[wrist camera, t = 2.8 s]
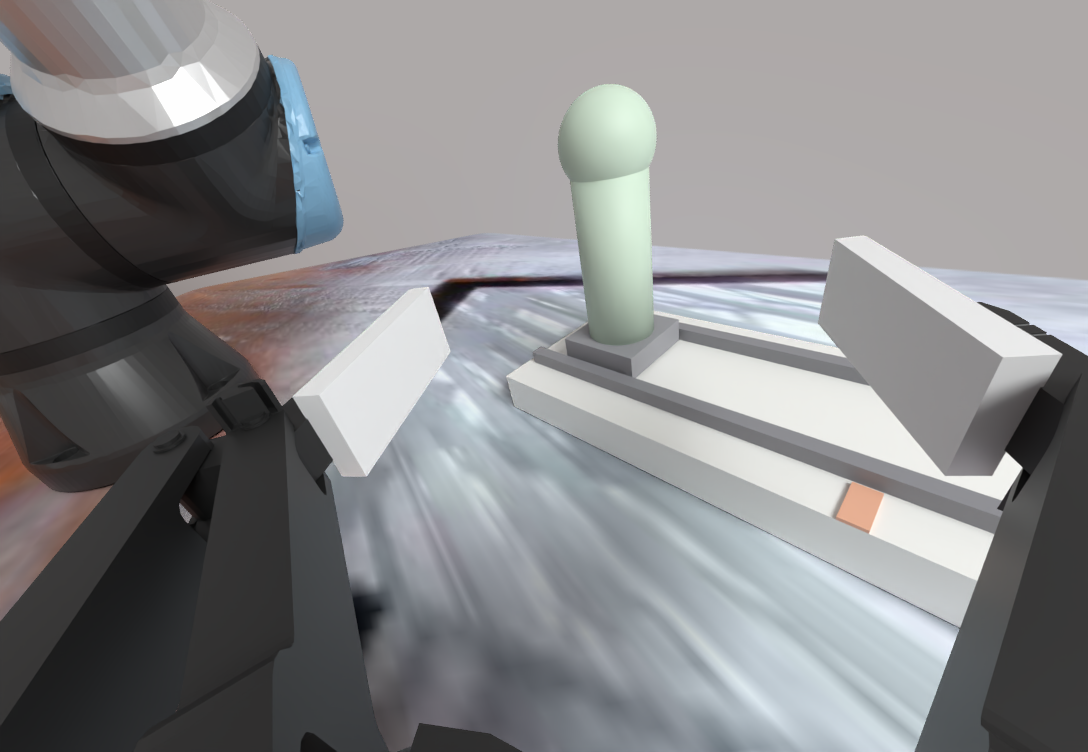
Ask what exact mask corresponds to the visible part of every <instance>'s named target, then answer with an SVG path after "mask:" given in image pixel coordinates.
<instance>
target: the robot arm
mask: <svg viewBox="0 0 1088 752" xmlns="http://www.w3.org/2000/svg"><path fill="white" fill-rule="evenodd" d="M0 41H1V42H2V43H3V44H4V45H5V46H6V47H7V48H8V49H9V50H10V51H11V65H10V66H11V67H10V68H11V69H10V76H7V75H4V74H0V416H1V418H2V420H3V422H4V424H5V426H6V429H7V431H8V433H9V435H10V437H11V439H12V441H13V444H14V446H15V448H16V450H17V452H18V454H19V457H20V459H21V461H22V463H23V464H24V466H25V467H26V468H27V469H28V470H29V471H30V472H31V473H32V474H34V475H35V476H36V477H37V478H39V479H40V480H41V481H42V482H43V483H45V484H46V485H47V486H48V487H49V488H51V489H53V490H56V491H60V492H76V491H84V490H90V489H95V488H99V487H103V486H106V485H110V484H113V483H115V484H114V485H113V486H112V488H111V489H110V490H109V491H108V492H107V494H106V495H105V496H104V497H103V498H102V500H101V501H100V502H99V503H98V504H97V506H96V507H95V508H94V509H93V510H92V512H91V513H90V514H89V515H88V516H87V518H86V519H85V520H84V521H83V523H82V524H81V525H80V526H79V527H78V529H77V530H76V531H75V532H74V533H73V535H72V536H71V537H70V538H69V539H68V541H67V542H66V543H65V544H64V545H63V547H62V548H61V549H60V550H59V552H58V553H57V554H56V555H55V556H54V558H53V559H52V560H51V561H50V562H49V564H48V565H47V566H46V567H45V568H44V570H43V571H42V572H41V573H40V574H39V576H38V577H37V578H36V579H35V580H34V582H33V583H32V584H31V585H30V587H29V588H28V589H27V590H26V591H25V593H24V594H23V595H22V596H21V597H20V599H19V600H18V601H17V602H16V603H15V605H14V606H13V607H12V608H11V609H10V611H9V612H8V613H7V614H6V616H5V617H4V618H3V619H2V620H1V622H0V752H389V751H388V748H387V746H386V744H385V742H384V740H383V738H382V736H381V734H380V732H379V730H378V727H377V724H376V721H375V717H374V713H373V708H372V702H371V697H370V692H369V686H368V681H367V675H366V670H365V665H364V659H363V654H362V648H361V643H360V637H359V632H358V627H357V621H356V616H355V610H354V605H353V600H352V594H351V589H350V583H349V578H348V573H347V567H346V562H345V556H344V551H343V545H342V540H341V535H340V529H339V524H338V518H337V513H336V508H335V502H334V497H333V491H332V486H331V481H330V479H329V478H328V476H327V475H326V473H325V472H324V471H325V470H326V468H327V467H328V466H329V465H330V463H331V462H332V461H333V463H334V464H335V466H336V467H337V469H338V471H339V472H340V474H341V475H342V477H367V475H368V474H369V472H370V471H371V469H372V468H373V466H374V465H375V463H376V462H377V460H378V459H379V458H380V456H381V455H382V453H383V452H384V450H385V449H386V447H387V446H388V444H389V443H390V441H391V440H392V438H393V437H394V435H395V434H396V432H397V431H398V429H399V428H400V426H401V425H402V423H403V422H404V420H405V419H406V417H407V416H408V414H409V413H410V411H411V410H412V408H413V407H414V405H415V404H416V402H417V401H418V399H419V398H420V397H421V395H422V394H423V392H424V391H425V389H426V388H427V386H428V385H429V383H430V382H431V380H432V379H433V377H434V376H435V374H436V373H437V371H438V370H439V368H440V367H441V365H442V364H443V362H444V361H445V359H446V358H447V356H448V355H449V353H450V352H451V351H450V348H449V345H448V342H447V339H446V337H445V334H444V331H443V328H442V325H441V322H440V319H439V316H438V313H437V310H436V308H435V305H434V302H433V299H432V296H431V293H430V290H429V287H424V288H415V289H409V290H408V291H407V292H406V293H405V294H404V295H403V296H402V297H401V298H399V299H398V300H397V301H396V302H395V303H394V304H393V305H392V306H391V307H390V308H389V309H387V310H386V311H385V312H384V313H383V314H382V315H381V316H380V317H379V318H378V319H377V320H375V321H374V322H373V323H372V324H371V325H370V326H369V327H368V328H367V329H366V330H364V331H363V332H362V333H361V334H360V335H359V336H358V337H357V338H356V339H355V340H354V341H352V342H351V343H350V344H349V345H348V346H347V347H346V348H345V349H344V350H343V351H342V352H340V353H339V354H338V355H337V356H336V357H335V358H334V359H333V360H332V361H331V362H330V363H328V364H327V365H326V366H325V367H324V368H323V369H322V370H321V371H320V372H319V373H318V374H316V375H315V376H314V377H313V378H312V379H311V380H310V381H309V382H308V383H307V384H306V385H304V386H303V387H302V388H301V389H300V390H299V391H298V392H297V393H296V394H295V395H293V396H292V398H291V399H290V400H289V401H288V402H287V403H285V404H284V405H283V406H281V404H280V403H279V401H278V400H277V398H276V397H275V395H274V394H273V392H272V391H271V389H270V388H269V386H268V385H267V383H266V381H265V380H262V379H260V378H259V377H258V375H257V374H256V372H255V371H254V369H253V368H252V366H251V365H250V363H249V362H248V361H247V360H246V358H245V357H243V356H242V355H241V354H240V353H238V352H237V351H236V350H234V349H233V348H232V347H231V346H229V345H228V344H227V343H225V342H224V341H223V340H221V339H220V338H219V337H218V336H216V335H215V334H214V333H212V332H211V331H210V330H208V329H207V328H206V327H205V326H203V325H202V324H201V323H199V322H198V321H197V320H195V319H194V318H193V317H192V316H190V315H189V314H188V313H187V312H186V311H185V310H184V309H183V307H182V306H181V305H180V303H179V302H178V301H177V299H176V298H175V296H174V295H173V294H172V292H171V291H170V289H169V288H168V287H167V285H166V284H169V283H173V282H178V281H181V280H185V279H190V278H194V277H198V276H202V275H206V274H210V273H214V272H218V271H222V270H227V269H231V268H235V267H239V266H243V265H248V264H252V263H256V262H260V261H264V260H268V259H272V258H277V257H281V256H284V255H289V254H297V253H300V252H301V251H302V250H303V249H305V248H309V247H312V246H315V245H318V244H321V243H324V242H327V241H330V240H332V239H334V238H335V237H336V236H337V235H338V234H339V233H340V232H341V230H342V227H343V215H342V211H341V208H340V205H339V201H338V199H337V195H336V192H335V188H334V185H333V182H332V179H331V175H330V172H329V169H328V166H327V163H326V160H325V156H324V153H323V150H322V147H321V144H320V140H319V137H318V134H317V131H316V128H315V124H314V121H313V117H312V114H311V111H310V108H309V105H308V102H307V98H306V95H305V92H304V89H303V86H302V83H301V80H300V77H299V74H298V71H297V68H296V66H295V64H294V63H293V62H292V61H291V60H289V59H286V58H278V57H276V56H273V55H269V56H268V57H267V58H265V59H264V57H263V55H262V53H261V51H260V49H259V47H258V46H257V43H256V41H255V39H254V37H253V36H252V34H251V33H250V31H249V30H248V28H247V27H246V26H245V25H244V23H243V22H242V21H241V20H240V19H239V18H238V17H236V16H235V15H234V14H232V13H231V12H229V11H228V10H226V9H224V8H222V7H221V6H219V5H217V4H215V3H213V2H211V1H209V0H0ZM818 324H819V325H820V326H821V327H822V329H823V330H824V331H825V332H826V333H827V335H828V336H829V337H830V338H831V339H832V341H833V342H834V343H835V344H836V346H837V347H838V348H839V349H840V350H841V352H842V353H843V354H844V355H845V356H846V358H847V359H848V360H849V361H850V362H851V364H852V365H853V366H854V367H855V368H856V370H857V371H858V372H859V373H860V374H861V376H862V377H863V378H864V379H865V380H866V382H867V383H868V384H869V385H870V386H871V388H872V389H873V390H874V391H875V392H876V394H877V395H878V396H879V397H880V398H881V400H882V401H883V402H884V403H885V404H886V406H887V407H888V408H889V409H890V410H891V412H892V413H893V414H894V415H895V417H896V418H897V419H898V420H899V421H900V423H901V424H902V425H903V426H904V427H905V429H906V430H907V431H908V432H909V433H910V435H911V436H912V437H913V438H914V439H915V441H916V442H917V443H918V444H919V445H920V447H921V448H922V449H923V450H924V451H925V453H926V454H927V455H928V456H929V457H930V459H931V460H932V461H933V462H934V463H935V465H936V466H937V467H938V468H939V469H940V471H941V472H942V473H943V474H944V475H945V476H992V475H993V474H994V472H995V470H996V468H997V467H998V465H999V463H1000V462H1001V460H1002V458H1003V456H1004V455H1005V453H1006V452H1007V453H1008V454H1009V455H1010V456H1011V457H1012V458H1013V459H1014V460H1015V461H1016V462H1017V463H1018V464H1019V465H1020V466H1021V467H1023V468H1022V469H1021V471H1020V473H1019V474H1018V476H1017V477H1016V479H1015V481H1014V482H1013V484H1012V485H1011V487H1010V489H1009V490H1008V492H1007V493H1006V495H1005V497H1004V498H1003V500H1002V501H1001V503H1000V505H999V506H998V508H997V509H998V510H1001V511H1003V512H1002V515H1001V518H1000V521H999V523H998V526H997V529H996V531H995V534H994V537H993V540H992V542H991V545H990V548H989V551H988V553H987V556H986V559H985V561H984V564H983V567H982V570H981V572H980V575H979V578H978V580H977V583H976V586H975V589H974V591H973V594H972V597H971V600H970V602H969V605H968V608H967V610H966V613H965V616H964V619H963V621H962V624H961V627H960V630H959V632H958V635H957V638H956V640H955V643H954V646H953V649H952V651H951V654H950V657H949V659H948V662H947V665H946V668H945V670H944V673H943V676H942V679H941V681H940V684H939V687H938V689H937V692H936V695H935V698H934V700H933V703H932V706H931V709H930V711H929V714H928V717H927V719H926V722H925V725H924V728H923V730H922V733H921V736H920V739H919V741H918V744H917V747H916V749H915V752H1088V356H1087V355H1085V354H1084V353H1082V352H1080V351H1078V350H1077V349H1075V348H1073V347H1071V346H1070V345H1068V344H1066V343H1064V342H1063V341H1061V340H1059V339H1057V338H1056V337H1054V336H1052V335H1046V333H1047V332H1045V331H1043V330H1042V329H1040V328H1038V327H1036V326H1035V325H1029V322H1028V321H1026V320H1024V319H1022V318H1021V317H1019V316H1017V315H1015V314H1014V313H1012V312H1010V311H1008V310H1004V309H1001V308H998V307H995V306H992V305H989V304H985V303H982V302H975V301H973V300H972V299H970V298H968V297H967V296H965V295H963V294H962V293H960V292H958V291H957V290H955V289H953V288H952V287H950V286H948V285H947V284H945V283H943V282H942V281H940V280H938V279H937V278H935V277H933V276H932V275H930V274H928V273H927V272H925V271H923V270H922V269H920V268H918V267H917V266H915V265H913V264H912V263H910V262H908V261H907V260H905V259H903V258H902V257H900V256H898V255H897V254H895V253H893V252H892V251H890V250H888V249H886V248H885V247H883V246H882V245H880V244H878V243H877V242H875V241H873V240H871V239H870V238H868V237H867V236H865V235H864V236H855V237H847V238H839V239H835V240H834V245H833V250H832V255H831V260H830V265H829V270H828V275H827V280H826V285H825V290H824V295H823V300H822V305H821V310H820V315H819V320H818ZM222 429H223V430H224V431H225V432H226V436H222V437H218V438H214V439H210V440H209V438H210V437H212V436H213V435H215V434H216V433H218V432H219V431H220V430H222ZM179 503H180V504H181V505H182V506H183V507H184V508H185V509H186V510H187V511H188V512H189V513H190V514H191V515H192V518H191V519H190V521H189V523H187V522H186V521H185V520H184V519H183V517H182V516H181V514H180V509H179ZM177 707H178V708H177ZM176 710H177V711H176ZM398 752H522V751H520V750H518V749H517V748H515V747H513V746H511V745H509V744H508V743H506V742H504V741H502V740H500V739H498V738H497V737H495V736H493V735H491V734H488V733H482V732H475V731H468V730H462V729H455V728H449V727H442V726H435V725H429V724H422V723H419V726H418V729H417V732H416V735H415V738H414V741H413V744H412V747H409V748H406V749H403V750H400V751H398Z"/></svg>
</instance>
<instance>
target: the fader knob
mask: <svg viewBox="0 0 1088 752" xmlns="http://www.w3.org/2000/svg"><path fill="white" fill-rule="evenodd" d="M656 137H657V133H656V125H655V120H654V117H653V114H652V112H651V110H650V108H649V106H648V105H647V103H646V102H645V100H644V99H643V98H642V97H641V96H640V95H639V94H637V93H636V92H635V91H633V90H632V89H630V88H628V87H625V86H622V85H617V84H605V85H600V86H596V87H594V88H592V89H589V90H588V91H586V92H584V93H583V94H582V95H580V96H579V97H578V98H577V99H576V100H575V101H574V102H573V104H572V105H571V106H570V107H569V109H568V110H567V112H566V114H565V116H564V118H563V121H562V123H561V127H560V130H559V136H558V153H559V158H560V162H561V165H562V168H563V170H564V172H565V173H566V175H567V177H568V178H569V179H570V184H571V191H572V200H573V207H574V215H575V223H576V231H577V239H578V246H579V254H580V262H581V270H582V278H583V285H584V293H585V301H586V309H587V317H588V324H586V325H585V326H583V327H582V328H580V329H579V330H577V331H576V332H574V333H573V334H571V335H570V336H568V337H567V338H565V343H566V349H567V355H568V356H570V357H573V358H576V359H579V360H582V361H585V362H588V363H591V364H594V365H597V366H600V367H603V368H606V369H609V370H612V371H615V372H618V373H621V374H624V375H627V376H630V377H633V378H636V377H637V376H639V375H640V374H641V373H642V372H643V371H644V370H645V369H647V368H648V367H649V366H650V365H651V364H652V363H653V362H655V361H656V360H657V359H658V358H659V357H660V356H661V355H663V354H664V353H665V352H666V351H667V350H668V349H669V348H671V347H672V346H673V345H674V344H675V343H676V342H677V341H679V319H674V318H669V317H664V316H660V315H655V314H654V310H653V278H652V246H651V215H650V185H649V184H650V183H649V165H650V163H651V161H652V158H653V156H654V152H655V148H656Z"/></svg>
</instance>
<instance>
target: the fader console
mask: <svg viewBox="0 0 1088 752" xmlns="http://www.w3.org/2000/svg"><path fill="white" fill-rule="evenodd" d="M654 314H655V315H660V316H664V317H669V318H674V319H679V341H677V342H676V343H675V344H674V345H673V346H672V347H671V348H669V349H668V350H667V351H666V352H665V353H664V354H663V355H661V356H660V357H659V358H658V359H657V360H656V361H655V362H653V363H652V364H651V365H650V366H649V367H648V368H647V369H645V370H644V371H643V372H642V373H641V374H640V375H639V376H637V377H636V378H633V377H630V376H627V375H624V374H621V373H618V372H615V371H612V370H609V369H606V368H603V367H600V366H597V365H594V364H591V363H588V362H585V361H582V360H579V359H576V358H573V357H570V356H568V355H567V349H566V343H565V338H567V337H568V336H570V335H571V334H573V333H574V332H576V331H577V330H579V329H580V328H582V327H583V326H585V325H586V324H588V321H587V322H586V323H584V324H583V325H582V326H580V327H579V328H577V329H576V330H574V331H573V332H571V333H570V334H568V335H567V336H565V337H564V338H562V339H561V340H559V341H558V342H556V343H555V344H553V345H552V346H550V347H549V348H547V349H546V348H543V347H540V348H538V349H537V350H535V351H534V352H533V356H534V358H533V359H531V360H530V361H528V362H527V363H525V364H524V365H522V366H521V367H519V368H518V369H516V370H515V371H513V372H512V373H510V374H509V375H507V376H506V378H507V382H508V385H509V389H510V393H511V396H512V400H513V404H514V406H515V407H517V408H519V409H521V410H523V411H525V412H527V413H529V414H531V415H533V416H535V417H537V418H539V419H541V420H543V421H545V422H547V423H549V424H551V425H553V426H555V427H557V428H559V429H561V430H563V431H565V432H567V433H569V434H571V435H573V436H575V437H577V438H579V439H581V440H583V441H585V442H587V443H589V444H591V445H593V446H595V447H597V448H599V449H601V450H603V451H605V452H607V453H609V454H611V455H613V456H615V457H617V458H619V459H621V460H623V461H625V462H627V463H629V464H631V465H633V466H635V467H637V468H639V469H641V470H643V471H645V472H647V473H649V474H651V475H653V476H655V477H657V478H659V479H661V480H663V481H665V482H667V483H670V484H672V485H674V486H676V487H678V488H680V489H682V490H684V491H686V492H688V493H690V494H692V495H694V496H696V497H698V498H700V499H702V500H704V501H706V502H708V503H710V504H712V505H714V506H716V507H718V508H720V509H722V510H724V511H726V512H728V513H730V514H732V515H734V516H736V517H738V518H740V519H742V520H744V521H746V522H748V523H750V524H752V525H754V526H756V527H758V528H760V529H762V530H764V531H766V532H768V533H770V534H772V535H774V536H776V537H778V538H780V539H782V540H784V541H786V542H788V543H790V544H792V545H794V546H796V547H798V548H800V549H802V550H804V551H806V552H808V553H810V554H812V555H814V556H816V557H818V558H820V559H822V560H824V561H826V562H828V563H830V564H832V565H834V566H836V567H838V568H840V569H842V570H844V571H846V572H849V573H851V574H853V575H855V576H857V577H859V578H861V579H863V580H865V581H867V582H869V583H871V584H873V585H875V586H877V587H879V588H881V589H883V590H885V591H887V592H889V593H891V594H893V595H895V596H897V597H899V598H901V599H903V600H905V601H907V602H909V603H911V604H913V605H915V606H917V607H919V608H921V609H923V610H925V611H927V612H929V613H931V614H933V615H935V616H937V617H939V618H941V619H943V620H945V621H947V622H949V623H951V624H953V625H955V626H957V627H959V628H960V627H961V624H962V621H963V619H964V616H965V613H966V610H967V608H968V605H969V602H970V600H971V597H972V594H973V591H974V589H975V586H976V583H977V580H978V578H979V575H980V572H981V570H982V567H983V564H984V561H985V559H986V556H987V553H988V551H989V548H990V545H991V542H992V540H993V537H994V534H995V531H996V529H997V526H998V523H999V521H1000V518H1001V515H1002V512H1003V511H1001V510H998V509H997V508H998V506H999V505H1000V503H1001V501H1002V500H1003V498H1004V497H1005V495H1006V493H1007V492H1008V490H1009V489H1010V487H1011V485H1012V484H1013V482H1014V481H1015V479H1016V477H1017V476H1018V474H1019V473H1020V471H1021V469H1022V468H1023V467H1021V466H1020V465H1019V464H1018V463H1017V462H1016V461H1015V460H1014V459H1013V458H1012V457H1011V456H1010V455H1009V454H1008V453H1007V452H1006V453H1005V455H1004V456H1003V458H1002V460H1001V462H1000V463H999V465H998V467H997V468H996V470H995V472H994V474H993V475H992V476H945V475H944V474H943V473H942V472H941V471H940V469H939V468H938V467H937V466H936V465H935V463H934V462H933V461H932V460H931V459H930V457H929V456H928V455H927V454H926V453H925V451H924V450H923V449H922V448H921V447H920V445H919V444H918V443H917V442H916V441H915V439H914V438H913V437H912V436H911V435H910V433H909V432H908V431H907V430H906V429H905V427H904V426H903V425H902V424H901V423H900V421H899V420H898V419H897V418H896V417H895V415H894V414H893V413H892V412H891V410H890V409H889V408H888V407H887V406H886V404H885V403H884V402H883V401H882V400H881V398H880V397H879V396H878V395H877V394H876V392H875V391H874V390H873V389H872V388H871V386H870V385H869V384H868V383H867V382H866V380H865V379H864V378H863V377H862V376H861V374H860V373H859V372H858V371H857V370H856V368H855V367H854V366H853V365H852V364H851V362H850V361H849V360H848V359H847V358H846V356H845V355H844V354H843V353H842V352H841V350H840V349H839V348H836V347H831V346H826V345H821V344H816V343H811V342H806V341H802V340H797V339H792V338H787V337H782V336H777V335H772V334H767V333H762V332H757V331H752V330H747V329H742V328H737V327H732V326H727V325H722V324H717V323H712V322H707V321H703V320H698V319H693V318H688V317H683V316H678V315H673V314H668V313H663V312H658V311H654Z"/></svg>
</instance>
